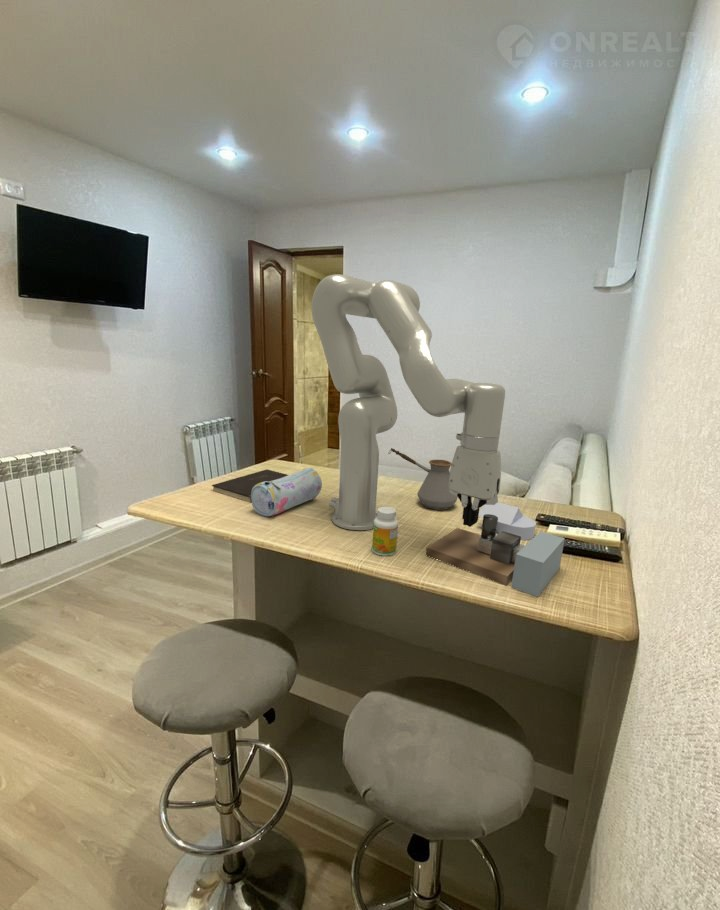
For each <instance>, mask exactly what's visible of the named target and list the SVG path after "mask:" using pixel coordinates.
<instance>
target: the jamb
mask: <svg viewBox="0 0 720 910" xmlns="http://www.w3.org/2000/svg"><path fill="white" fill-rule="evenodd" d="M565 539H566V538H565V537H562V536H559V535H555V534H551V533H547V532H544V531H539V532H538V533H537V534H536V535H534V538H532V539H530V540H529V541H528V543H526V544H524V547H523V548H522V549H521V550H520V551H519V552H518V553H517V554H516V558H515V565H514V572H513V579H512V580H511V585H510V586H511V588H512V589H515V590H517V591H520V592H523V593H525V594H528V595H531V596H533V597H537V598H538V597H540V595H541V593H542V592H543V591H544V589H546V588H547V586H548V584H549V583H550V582H551V580H552V579H553V578H554V576H556V573H558V571H559V570H560V569H561V568H560V567H561V562H562V557H563V550H564V545H565Z"/></svg>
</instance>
